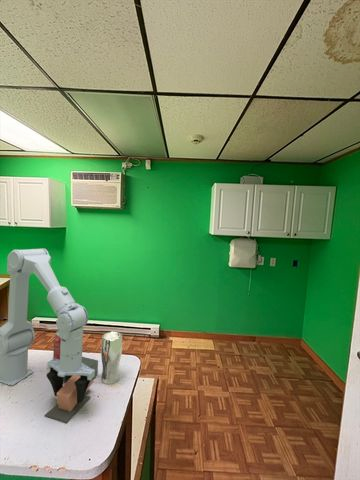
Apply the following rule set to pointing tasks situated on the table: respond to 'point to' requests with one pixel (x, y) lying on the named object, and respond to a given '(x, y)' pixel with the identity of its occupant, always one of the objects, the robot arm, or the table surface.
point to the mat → (65, 411)
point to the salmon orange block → (69, 394)
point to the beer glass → (111, 356)
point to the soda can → (56, 347)
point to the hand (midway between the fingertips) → (69, 397)
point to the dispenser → (88, 362)
